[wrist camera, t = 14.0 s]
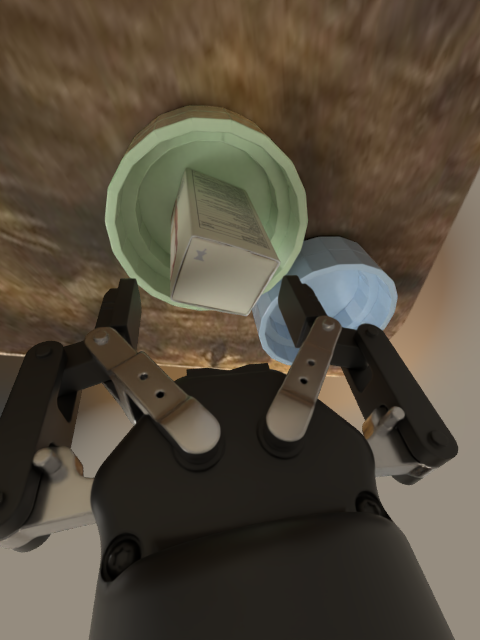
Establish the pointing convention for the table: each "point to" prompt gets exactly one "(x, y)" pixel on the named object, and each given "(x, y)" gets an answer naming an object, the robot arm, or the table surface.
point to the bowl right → (329, 292)
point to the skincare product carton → (218, 247)
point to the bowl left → (208, 158)
